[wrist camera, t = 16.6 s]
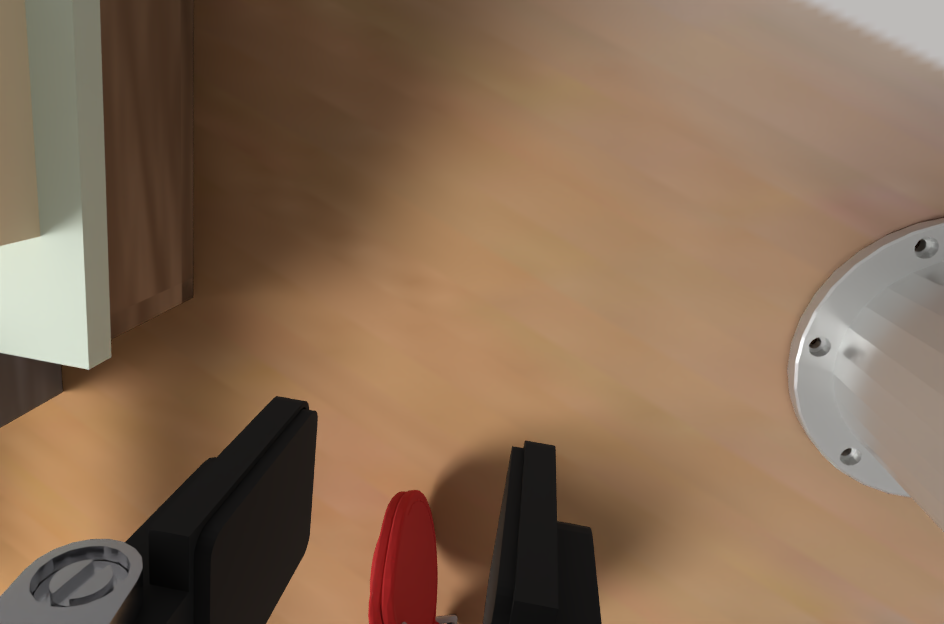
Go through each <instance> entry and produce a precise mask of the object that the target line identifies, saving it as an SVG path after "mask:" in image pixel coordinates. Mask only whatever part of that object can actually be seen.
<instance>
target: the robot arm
mask: <svg viewBox="0 0 944 624" xmlns="http://www.w3.org/2000/svg"><path fill="white" fill-rule="evenodd" d="M919 240H920V245H919V247H918V248H916V249H915V245H916V244H917V242H918V241H919ZM815 338H817V341H816V343H814V344H813V345H809V344H810V343H811V341H812V340H814V339H815ZM787 370H788V385H789V395H790V398H791V401H792V404H793V408H794V411H795V414H796V417H797V419H798V420H799V422H800V424H801V426H802V427H803V429H804V431H805V433H806V435H807V436H808V438H809V439H810V440H811V441H812V442H813V444H814V445H815V446H816V447H817V449H818V450H819V451H820V453H821V454H822V455H823V456H824V457H825V458H826V459H827V460H828V461H829V462H830V463H831V464H833V465H834V466H835V467H836V468H837V469H838V470H840V471H841V472H843V473H844V474H846V475H848V476H849V477H851V478H853V479H855V480H856V481H858V482H860V483H861V484H863V485H866V486H869V487H871V488H874V489H877V490H880V491H882V492H885V493H888V494H893V495H899V496H904V497H910V498H912V499H913V500H914V501H915V502H916V503H917V504H918V505H919V506H920V507H921V508H922V509H923V510H924V512H925V513H926V514H927V515H928V516H929V517H930V518H931V519H932V520H933V521H934V522H935V523H936V524H937V526H938V527H939V528H940V529H941V530H942V531H943V532H944V218H941V219H936V220H931V221H926V222H921V223H917V224H915V225H912V226H909V227H907V228H904V229H901V230H899V231H896V232H893V233H891V234H888V235H886V236H884V237H883V238H881V239H879V240H877V241H876V242H874V243H872V244H871V245H869V246H867V247H865V248H864V249H862V250H860V251H859V252H857V253H856V254H855V255H854V256H853V257H851V258H850V259H849V260H848V261H846V262H845V263H844V264H843V265H841V266H840V267H839V268H838V269H837V270H835V271H834V272H833V274H832V275H831V276H830V277H829V278H828V279H827V280H826V282H825V283H824V284H823V285H822V286H821V287H820V288H819V290H818V291H817V292H816V293H815V295H814V296H813V298H812V300H811V301H810V303H809V305H808V306H807V308H806V309H805V311H804V313H803V314H802V316H801V318H800V320H799V323H798V326H797V329H796V331H795V334H794V337H793V340H792V342H791V348H790V354H789V361H788V368H787ZM317 421H318V416H317V412H316V411H312V410H309V405H308V403H307V401H301V400H295V399H290V398H284V397H278V396H276V397H275V398H273V400H272V401H271V402H270V403H269V404H268V405H267V406H266V407H265V408H264V409H263V410H262V411H261V412H260V413H259V414H258V415H257V416H256V417H255V418H254V419H253V420H252V421H251V422H250V423H249V424H248V425H247V427H246V428H245V429H244V430H243V431H242V432H241V433H240V434H239V435H238V436H237V437H236V438H235V439H234V440H233V441H232V442H231V443H230V444H229V445H228V446H227V447H226V448H225V449H224V450H223V451H222V453H221V454H220V455H219V456H218V457H217V458H216V457H214V458H209V459H208V460H206V461H205V462H204V463H203V464H202V465H201V466H200V467H199V468H198V469H197V470H196V471H195V472H194V473H193V474H192V475H191V476H190V477H189V478H188V479H187V480H186V481H185V482H184V483H183V484H182V485H181V486H180V487H179V488H178V489H177V490H176V491H175V492H174V493H173V494H172V495H171V496H170V497H169V498H168V499H167V500H166V501H165V502H164V503H163V504H162V505H161V506H160V507H159V508H158V509H157V511H156V512H155V513H154V514H153V515H152V516H151V517H150V518H149V519H148V520H147V521H146V522H145V523H144V524H143V525H142V526H141V527H140V528H139V529H138V530H137V531H136V532H135V533H134V534H133V535H132V536H131V537H130V538H129V539H128V540H127V541H126V542H121V541H116V540H111V539H90V540H85V541H79V542H74V543H71V544H68V545H65V546H62V547H59V548H56V549H54V550H52V551H50V552H48V553H47V554H45V555H43V556H41V557H40V558H38V559H37V560H35V561H34V562H33V563H32V564H31V565H30V566H28V567H27V568H26V569H25V570H24V571H23V572H22V573H21V574H20V575H19V576H18V578H17V579H16V580H15V581H14V582H13V583H12V584H11V585H10V586H9V588H8V589H7V590H6V591H5V592H4V593H3V594H2V595H1V596H0V624H266V623H267V621H268V619H269V617H270V615H271V613H272V612H273V610H274V608H275V606H276V604H277V603H278V601H279V599H280V597H281V595H282V594H283V592H284V590H285V588H286V586H287V585H288V583H289V581H290V579H291V577H292V576H293V574H294V572H295V570H296V568H297V567H298V565H299V563H300V561H301V559H302V557H303V556H304V553H305V551H306V548H307V545H308V541H309V536H310V523H311V509H312V494H313V479H314V465H315V450H316V435H317ZM483 624H601V614H600V605H599V595H598V585H597V575H596V566H595V556H594V546H593V536H592V531H591V528H590V527H586V526H581V525H575V524H570V523H564V522H559V521H557V501H556V449H555V446H553V445H547V444H542V443H536V442H531V441H525V443H524V447H523V448H519V447H513V446H512V450H511V455H510V461H509V467H508V472H507V478H506V484H505V489H504V495H503V501H502V506H501V512H500V518H499V524H498V529H497V535H496V541H495V546H494V552H493V558H492V563H491V569H490V575H489V581H488V588H487V596H486V603H485V611H484V619H483Z"/></svg>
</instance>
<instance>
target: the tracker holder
mask: <svg viewBox="0 0 944 624" xmlns="http://www.w3.org/2000/svg"><path fill="white" fill-rule="evenodd" d="M436 603H437V550H436V536H435V530H434V523H433V518H432V514H431V510H430V507H429V504H428V502H427V499H426V497H425V496H424V494H423V493H421V492H420V491H418V490H411V491H408V492H399V493H397V494H396V495H395V496H394V497H393V498H392V499H391V501H390V503H389V505H388V507H387V510H386V513H385V516H384V520H383V523H382V528H381V533H380V536H379V539H378V542H377V544H376V548H375V552H374V556H373V561H372V568H371V578H370V599H369V614H368V617H369V624H444V623H447V624H457V616H456V615H454V614H453V615H445V616H437V617H436Z"/></svg>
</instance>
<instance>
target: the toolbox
mask: <svg viewBox="0 0 944 624" xmlns="http://www.w3.org/2000/svg"><path fill="white" fill-rule="evenodd" d="M100 24H101V54H102V85H103V115H104V146H105V176H106V207H107V237H108V268H109V298H110V329H111V339H113V338H115V337H117V336H119V335H120V334H122V333H124V332H126V331H128V330H130V329H132V328H134V327H136V326H138V325H140V324H142V323H144V322H146V321H148V320H150V319H152V318H154V317H156V316H158V315H160V314H162V313H163V312H165V311H167V310H169V309H171V308H173V307H175V306H177V305H179V304H181V303H183V302H185V301H187V300H189V299H191V298H193V0H100ZM62 392H63V388H62V373H61V364H57V363H52V362H46V361H41V360H36V359H31V358H25V357H20V356H15V355H10V354H5V353H0V428H1V427H2V426H4V425H6V424H8V423H9V422H11V421H13V420H15V419H16V418H18V417H20V416H22V415H23V414H25V413H27V412H29V411H31V410H32V409H34V408H36V407H38V406H39V405H41V404H43V403H45V402H46V401H48V400H50V399H52V398H53V397H55V396H57V395H59V394H60V393H62Z"/></svg>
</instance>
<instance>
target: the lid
mask: <svg viewBox="0 0 944 624" xmlns="http://www.w3.org/2000/svg"><path fill="white" fill-rule="evenodd" d="M0 353H5V354H10V355H15V356H20V357H25V358H31V359H36V360H41V361H46V362H52V363H57V364H62V365H67V366H73V367H78V368H83V369H88V370H89V369H91V368H93V367H95V366H96V365H98V364H100V363H102V362H104V361H105V360H107V359H109V358H111V329H110V298H109V268H108V237H107V207H106V176H105V146H104V115H103V85H102V54H101V24H100V0H0Z"/></svg>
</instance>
